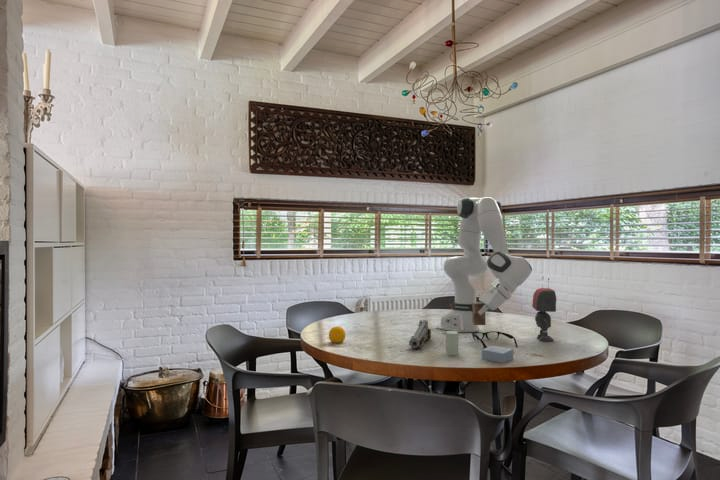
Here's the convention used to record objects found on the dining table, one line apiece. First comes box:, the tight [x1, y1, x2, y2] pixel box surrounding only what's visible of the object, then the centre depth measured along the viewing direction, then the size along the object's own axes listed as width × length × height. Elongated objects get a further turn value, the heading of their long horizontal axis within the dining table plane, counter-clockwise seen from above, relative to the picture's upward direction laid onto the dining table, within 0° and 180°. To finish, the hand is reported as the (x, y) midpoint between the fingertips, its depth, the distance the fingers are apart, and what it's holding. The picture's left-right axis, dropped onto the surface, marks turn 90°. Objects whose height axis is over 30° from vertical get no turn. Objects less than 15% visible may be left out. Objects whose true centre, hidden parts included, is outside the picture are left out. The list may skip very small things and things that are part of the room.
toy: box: [408, 319, 432, 350], centre depth 207 cm, size 6×24×10 cm, turn 160°
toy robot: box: [531, 277, 557, 343], centre depth 216 cm, size 22×9×30 cm, turn 168°
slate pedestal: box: [481, 345, 514, 364], centre depth 183 cm, size 9×9×4 cm
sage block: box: [445, 330, 459, 356], centre depth 190 cm, size 4×4×9 cm
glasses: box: [471, 330, 518, 349], centre depth 208 cm, size 17×18×5 cm
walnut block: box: [472, 301, 486, 326], centre depth 191 cm, size 4×4×9 cm
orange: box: [328, 326, 347, 344], centre depth 211 cm, size 8×8×8 cm
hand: (477, 312), depth 191 cm, fingers closed on walnut block, 4 cm apart
